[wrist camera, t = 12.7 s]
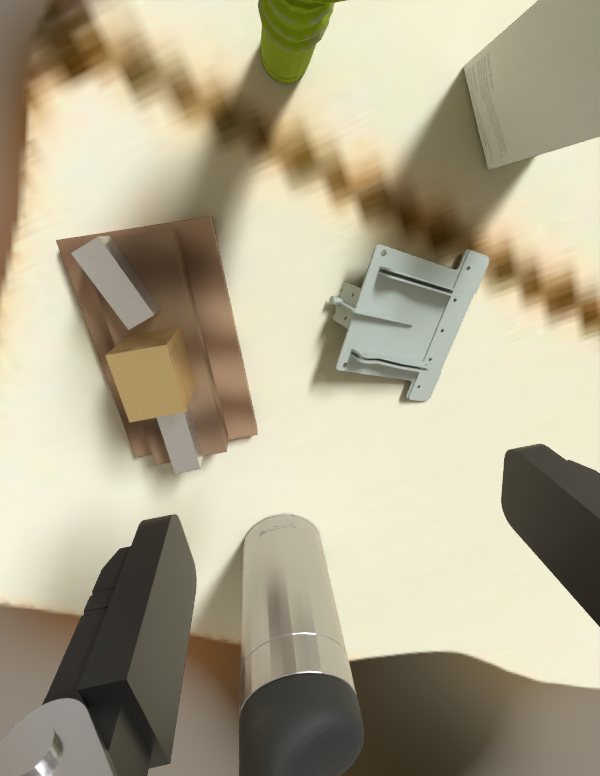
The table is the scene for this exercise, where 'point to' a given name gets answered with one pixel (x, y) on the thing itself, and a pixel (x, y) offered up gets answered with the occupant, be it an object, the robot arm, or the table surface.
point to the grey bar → (133, 309)
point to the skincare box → (538, 82)
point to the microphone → (291, 34)
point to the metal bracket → (405, 316)
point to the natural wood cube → (152, 373)
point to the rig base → (209, 316)
